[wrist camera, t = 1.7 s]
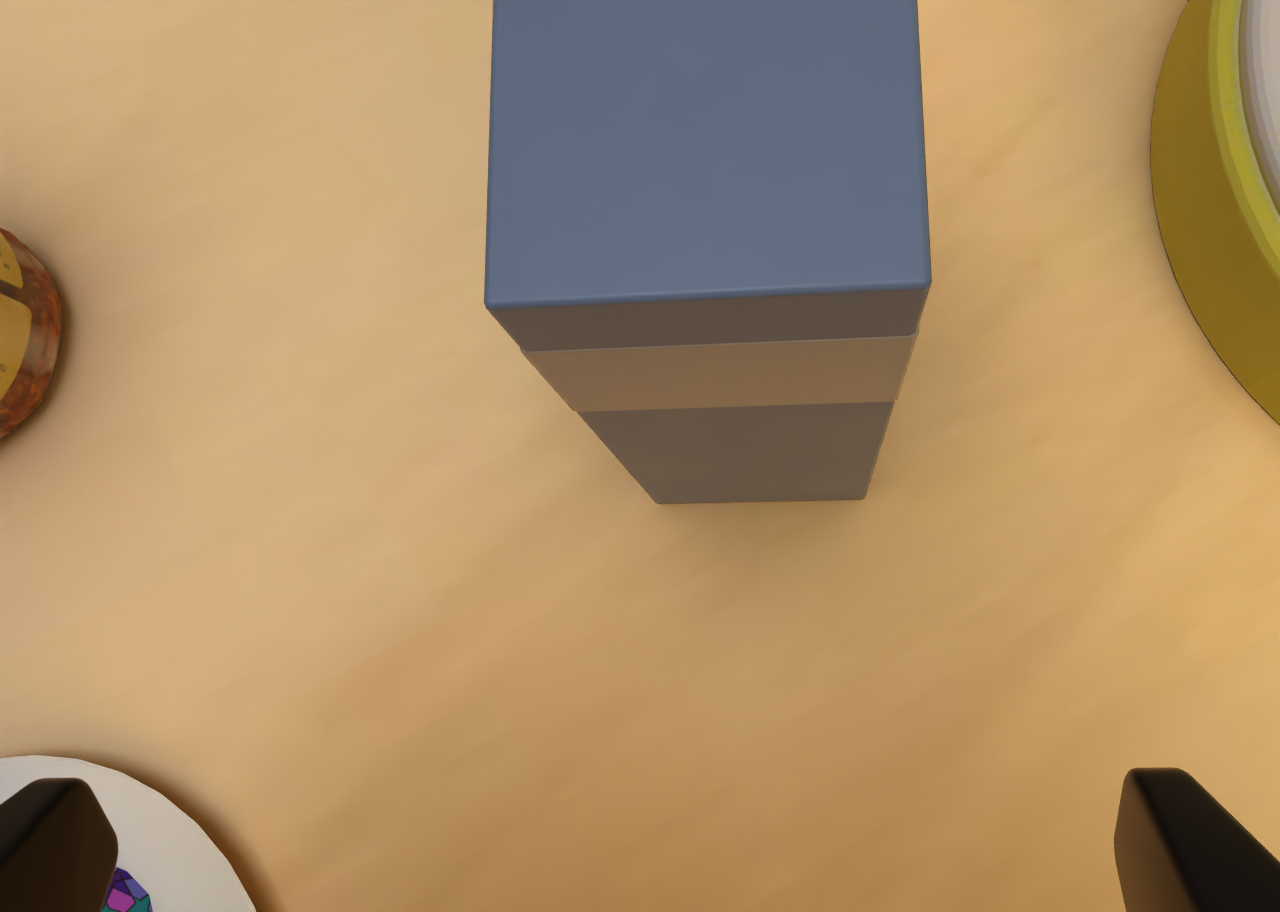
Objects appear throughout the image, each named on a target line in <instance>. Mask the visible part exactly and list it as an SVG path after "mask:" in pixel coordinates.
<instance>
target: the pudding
mask: <svg viewBox="0 0 1280 912" xmlns="http://www.w3.org/2000/svg"><path fill="white" fill-rule="evenodd" d="M41 778H80V779H82V780H83V781H85V782H86V783H88V785H89V786H90V787H91V789H92V791H93V793H94V794H95V796H96V798H97V800H98V802H99V804H100V805H101V807H102V809H103V811H104V813H105V815H106V816H107V818H108V820H109V822H110V824H111V826H112V827H113V829H114V831H115V833H116V836H117V840H118V858H117V863H116V867H115V870H114V873H113V876H112V879H111V883H110V886H109V889H108V892H107V895H106V898H105V901H104V904H103V907H102V910H101V912H256V910H255V907H254V905H253V903H252V901H251V900H250V898H249V896H248V894H247V893H246V891H245V889H244V887H243V886H242V884H241V882H240V880H239V879H238V877H237V875H236V873H235V872H234V870H233V868H232V866H231V865H230V863H229V861H228V860H227V859H226V857H225V856H224V855H223V854H222V853H221V851H220V850H219V849H218V848H217V847H216V845H215V844H214V843H213V842H212V841H211V839H210V838H209V837H208V836H207V835H206V833H205V832H204V831H203V830H202V829H201V827H200V826H199V825H198V824H197V823H196V822H195V821H194V820H192V819H191V818H190V817H189V816H188V815H186V814H185V813H184V812H183V811H181V810H180V809H179V808H178V807H177V806H175V805H174V804H173V803H172V802H171V801H169V800H168V799H167V798H166V797H164V796H163V795H162V794H161V793H159V792H157V791H155V790H153V789H152V788H150V787H148V786H146V785H144V784H142V783H140V782H139V781H137V780H135V779H133V778H131V777H129V776H127V775H126V774H124V773H122V772H120V771H116V770H113V769H110V768H106V767H103V766H100V765H96V764H93V763H90V762H86V761H83V760H80V759H74V758H63V757H52V756H41V755H27V756H17V757H8V758H0V804H2V803H3V802H4V801H6V800H7V799H8V798H10V797H11V796H13V795H14V794H15V793H17V792H18V791H19V790H21V789H22V788H23V787H25V786H26V785H28V784H29V783H31V782H33V781H35V780H38V779H41Z"/></svg>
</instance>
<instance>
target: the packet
mask: <svg viewBox="0 0 1280 912" xmlns="http://www.w3.org/2000/svg"><path fill="white" fill-rule="evenodd" d="M931 282H932V276H931V257H930V238H929V218H928V199H927V180H926V160H925V141H924V122H923V102H922V83H921V64H920V44H919V25H918V6H917V0H493V26H492V58H491V91H490V124H489V157H488V189H487V222H486V255H485V288H484V304H485V306H486V309H487V310H488V311H489V312H490V313H491V314H492V315H493V317H494V318H495V319H496V320H497V321H498V322H499V323H500V325H501V326H502V327H503V328H504V329H505V330H506V332H507V333H508V334H509V335H510V336H511V337H512V338H513V340H514V341H515V342H516V343H517V344H518V345H519V346H520V349H521V352H522V353H523V354H524V356H525V357H526V358H527V359H528V360H529V361H530V362H531V364H532V365H533V366H534V367H535V368H536V369H537V370H538V371H539V373H540V374H541V375H542V376H543V377H544V378H545V379H546V381H547V382H548V383H549V384H550V385H551V386H552V387H553V388H554V390H555V391H556V392H557V393H558V394H559V395H560V396H561V398H562V399H563V400H564V401H565V402H566V403H567V404H568V405H569V407H570V408H571V409H572V410H574V411H576V412H577V413H578V414H579V415H580V416H581V417H582V419H583V420H584V421H585V422H586V423H587V424H588V425H589V427H590V428H591V429H592V430H593V431H594V432H595V433H596V435H597V436H598V437H599V438H600V439H601V440H602V442H603V443H604V444H605V445H606V446H607V447H608V448H609V450H610V451H611V452H612V453H613V454H614V455H615V456H616V458H617V459H618V460H619V461H620V462H621V463H622V464H623V466H624V467H625V468H626V469H627V470H628V471H629V472H630V474H631V475H632V476H633V477H634V478H635V479H636V480H637V482H638V483H639V484H640V485H641V486H642V487H643V489H644V490H645V491H646V492H647V493H648V494H649V495H650V497H651V498H652V499H653V500H654V501H655V502H656V503H658V504H673V503H721V502H768V501H816V500H862V499H864V498H865V496H866V492H867V489H868V486H869V483H870V479H871V476H872V473H873V470H874V466H875V463H876V460H877V457H878V453H879V450H880V447H881V444H882V441H883V437H884V434H885V431H886V428H887V424H888V421H889V418H890V415H891V411H892V408H893V405H894V402H895V400H896V399H897V397H898V395H899V392H900V389H901V385H902V382H903V379H904V376H905V373H906V370H907V366H908V363H909V360H910V357H911V354H912V351H913V347H914V344H915V341H916V338H917V335H918V332H919V321H920V317H921V314H922V311H923V308H924V305H925V301H926V298H927V295H928V292H929V288H930V285H931Z"/></svg>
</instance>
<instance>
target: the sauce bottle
mask: <svg viewBox="0 0 1280 912" xmlns="http://www.w3.org/2000/svg"><path fill="white" fill-rule="evenodd" d="M62 314H63V310H62V306H61V303H60V299H59V293H58V291H57V289H56V287H55V284H54V281H53V280H52V278H51V277H50V275H49V274H48V271H47V269H46V267H44V266H43V265H42V264H41V263H40V262H39V261H38V260H37V258H36V257H35V256H34V255H33V254H32V253H31V252H30V251H29V250H28V248H27V247H26V246H25V245H23V244H22V243H21V242H19V241H18V239H17V238H16V237H15V236H14V235H13V234H11V233H10V232H8V231H6V230H4V229H2V228H0V439H2V438H3V437H4V436H5V435H6V434H7V433H9V432H13V431H14V430H15V429H17V428H19V426H20V423H21V422H23V421H24V420H25V419H26V418H27V417H28V416H30V415H31V414H32V413H33V412H34V410H35V409H36V408H37V407H38V406H39V405H40V404H41V403H42V402H43V401H44V397H45V392H46V390H47V387H48V385H49V383H50V381H51V377H52V375H53V372H54V369H55V364H56V360H57V353H58V349H59V344H60V339H61V336H60V334H61V328H62V325H63V320H62Z"/></svg>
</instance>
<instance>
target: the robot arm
mask: <svg viewBox="0 0 1280 912" xmlns="http://www.w3.org/2000/svg"><path fill="white" fill-rule="evenodd" d="M1114 849H1115V859H1116V865H1117V870H1118V875H1119V880H1120V884H1121V889H1122V894H1123V898H1124V903H1125V908H1126V912H1280V862H1279V861H1278V860H1277V859H1276V858H1275V857H1274V856H1273V855H1272V854H1271V853H1270V852H1269V851H1268V850H1267V849H1266V848H1265V847H1264V846H1263V845H1262V844H1261V843H1260V842H1259V841H1257V840H1256V839H1255V838H1254V837H1253V836H1252V835H1251V834H1250V833H1249V832H1248V831H1247V830H1246V829H1245V828H1244V827H1243V826H1242V825H1241V824H1240V823H1239V822H1238V821H1237V820H1236V819H1235V818H1234V817H1233V816H1232V815H1231V814H1230V813H1229V812H1228V811H1227V810H1226V809H1225V808H1224V807H1223V806H1222V805H1221V804H1220V803H1219V802H1217V801H1216V800H1215V799H1214V798H1213V797H1212V796H1211V795H1210V794H1209V793H1208V792H1207V791H1206V790H1205V789H1204V788H1203V787H1202V786H1201V785H1200V784H1199V783H1198V782H1197V781H1196V780H1195V779H1194V778H1193V777H1192V776H1191V775H1189V774H1188V773H1187V772H1185V771H1183V770H1181V769H1179V768H1134V769H1131V770H1130V771H1128V773H1127V775H1126V776H1125V779H1124V783H1123V788H1122V794H1121V800H1120V806H1119V811H1118V817H1117V823H1116V829H1115V835H1114ZM117 858H118V840H117V836H116V833H115V831H114V829H113V827H112V826H111V824H110V822H109V820H108V818H107V816H106V815H105V813H104V811H103V809H102V807H101V805H100V804H99V802H98V800H97V798H96V796H95V794H94V793H93V791H92V789H91V787H90V786H89V785H88V783H86V782H85V781H83V780H82V779H80V778H41V779H38V780H35V781H33V782H31V783H29V784H28V785H26V786H25V787H23V788H22V789H21V790H19V791H18V792H17V793H15V794H14V795H13V796H11V797H10V798H8V799H7V800H6V801H4V802H3V803H2V804H0V912H101V910H102V907H103V904H104V901H105V898H106V895H107V892H108V889H109V886H110V883H111V879H112V876H113V873H114V870H115V867H116V863H117Z"/></svg>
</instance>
